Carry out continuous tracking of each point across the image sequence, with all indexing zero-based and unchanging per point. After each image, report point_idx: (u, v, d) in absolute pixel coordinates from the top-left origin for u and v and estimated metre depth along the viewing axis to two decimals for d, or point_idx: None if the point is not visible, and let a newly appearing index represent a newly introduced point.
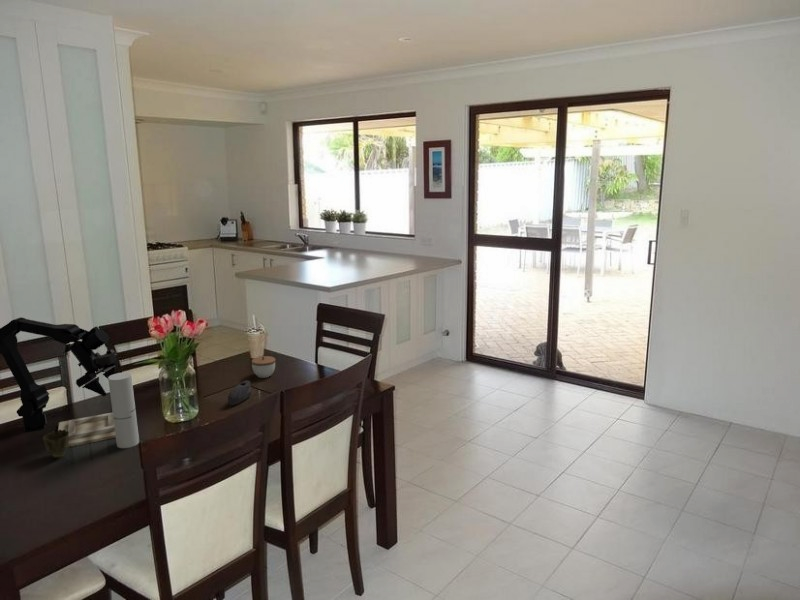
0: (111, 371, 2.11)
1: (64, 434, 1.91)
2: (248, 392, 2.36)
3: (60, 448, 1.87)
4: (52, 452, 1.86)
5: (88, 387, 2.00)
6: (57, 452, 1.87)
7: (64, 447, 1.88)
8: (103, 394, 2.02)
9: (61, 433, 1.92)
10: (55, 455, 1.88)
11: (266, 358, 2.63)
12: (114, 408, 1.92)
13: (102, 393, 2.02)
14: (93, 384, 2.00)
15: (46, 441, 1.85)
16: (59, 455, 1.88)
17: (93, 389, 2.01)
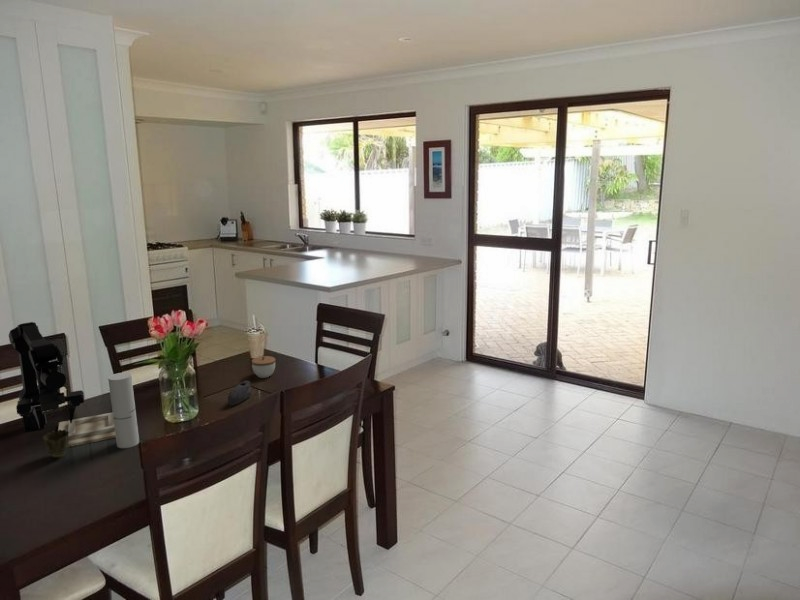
0: None
1: (64, 434, 1.91)
2: (248, 392, 2.36)
3: (60, 448, 1.87)
4: (52, 452, 1.86)
5: None
6: (57, 452, 1.87)
7: (64, 447, 1.88)
8: None
9: (61, 433, 1.92)
10: (55, 455, 1.88)
11: (266, 358, 2.63)
12: (114, 408, 1.92)
13: None
14: None
15: (46, 441, 1.85)
16: (59, 455, 1.88)
17: None
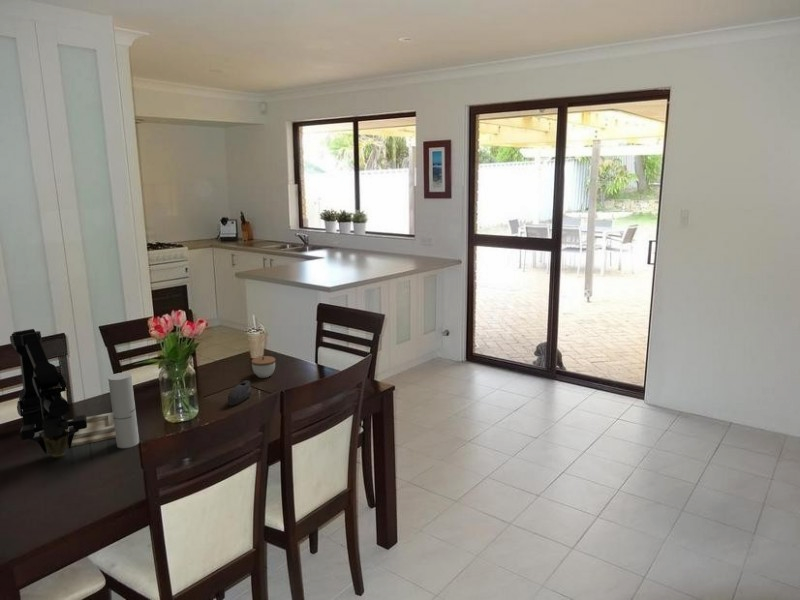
0: None
1: (64, 434, 1.91)
2: (248, 392, 2.36)
3: (60, 448, 1.87)
4: (52, 452, 1.86)
5: None
6: (57, 452, 1.87)
7: (64, 447, 1.88)
8: None
9: None
10: (55, 455, 1.88)
11: (266, 358, 2.63)
12: (114, 408, 1.92)
13: None
14: None
15: (46, 441, 1.85)
16: (59, 455, 1.88)
17: None
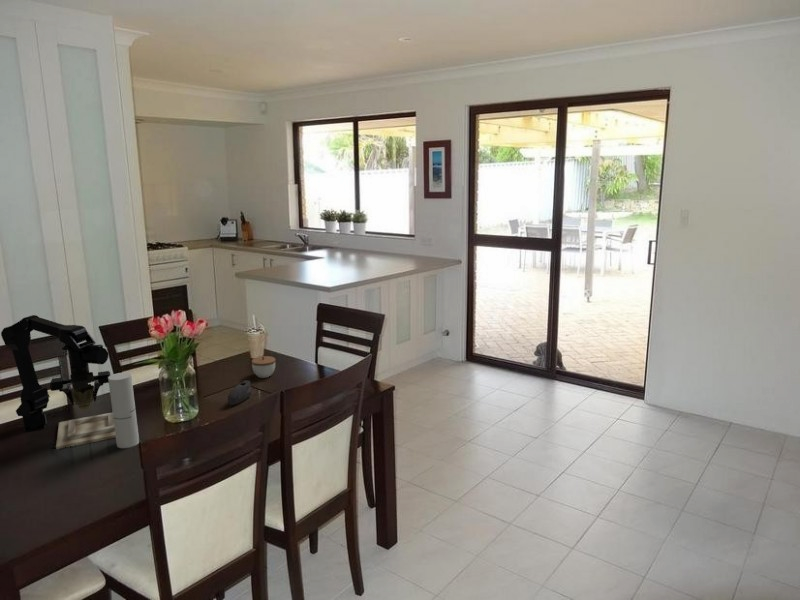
0: (94, 386, 2.04)
1: (89, 388, 2.06)
2: (248, 392, 2.36)
3: (86, 400, 2.01)
4: (79, 403, 2.01)
5: None
6: (83, 404, 2.01)
7: (90, 399, 2.02)
8: None
9: (87, 387, 2.06)
10: (81, 407, 2.02)
11: (266, 358, 2.63)
12: (114, 408, 1.92)
13: (71, 401, 2.02)
14: None
15: (73, 393, 1.99)
16: (85, 407, 2.03)
17: None
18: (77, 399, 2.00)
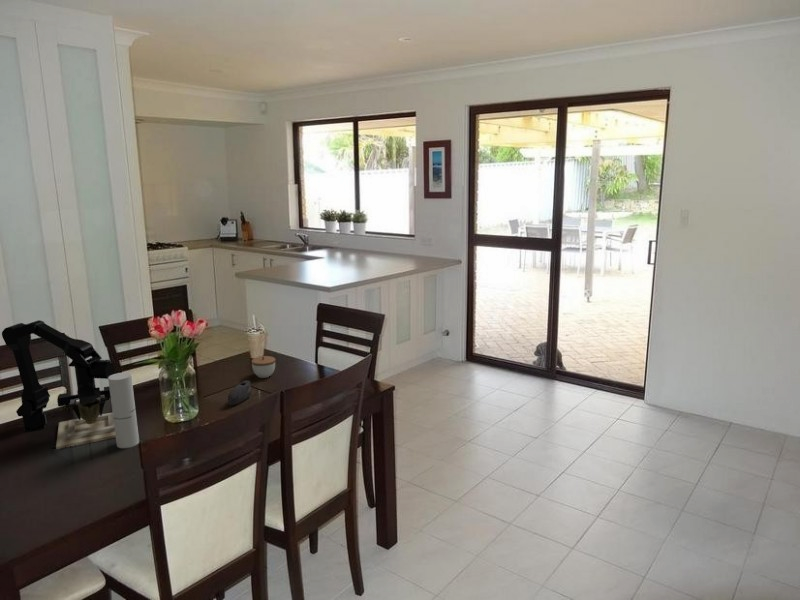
0: (100, 400, 2.08)
1: (95, 402, 2.10)
2: (248, 392, 2.36)
3: (93, 415, 2.05)
4: (85, 418, 2.05)
5: None
6: (90, 418, 2.05)
7: (96, 414, 2.06)
8: (78, 417, 2.06)
9: (93, 402, 2.10)
10: (88, 421, 2.06)
11: (266, 358, 2.63)
12: (114, 408, 1.92)
13: (77, 416, 2.06)
14: None
15: (80, 408, 2.03)
16: (91, 421, 2.07)
17: None
18: (84, 414, 2.04)
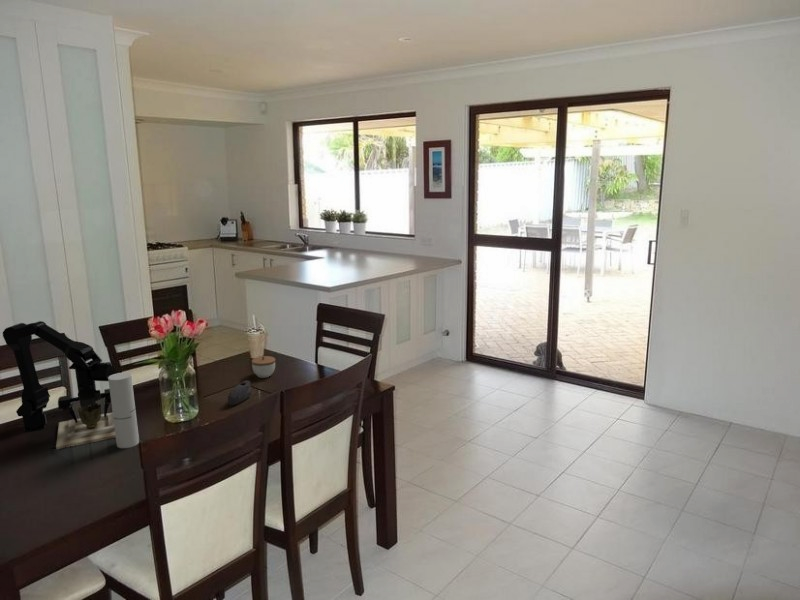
0: (104, 402, 2.08)
1: (96, 407, 2.11)
2: (248, 392, 2.36)
3: (93, 419, 2.06)
4: (86, 423, 2.05)
5: None
6: (91, 423, 2.06)
7: (97, 418, 2.07)
8: (75, 420, 2.06)
9: (94, 407, 2.11)
10: (89, 426, 2.07)
11: (266, 358, 2.63)
12: (114, 408, 1.92)
13: (74, 419, 2.05)
14: None
15: (81, 413, 2.04)
16: (92, 426, 2.07)
17: None
18: (85, 418, 2.04)
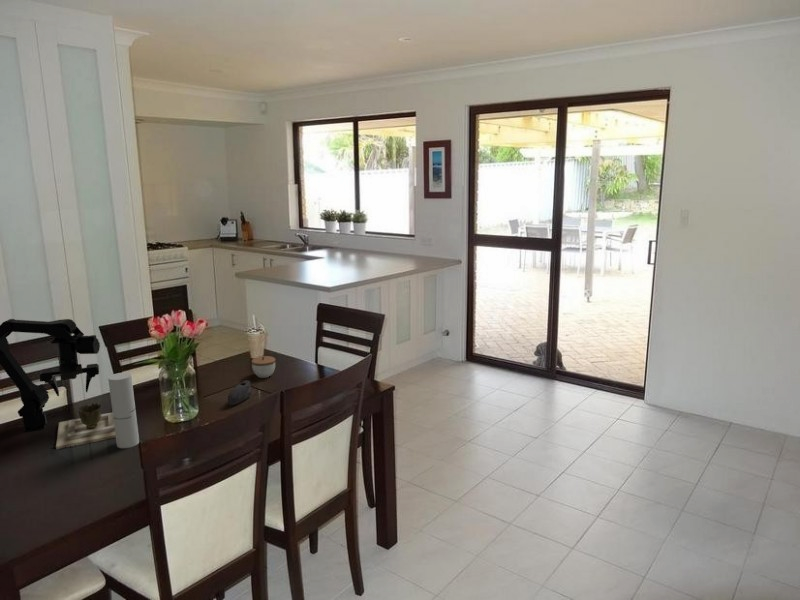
0: (86, 377, 2.11)
1: (96, 407, 2.10)
2: (248, 392, 2.36)
3: (93, 419, 2.06)
4: (86, 423, 2.05)
5: None
6: (91, 423, 2.06)
7: (97, 419, 2.07)
8: None
9: (94, 407, 2.11)
10: (89, 426, 2.07)
11: (266, 358, 2.63)
12: (114, 408, 1.92)
13: None
14: None
15: (81, 413, 2.04)
16: (92, 426, 2.07)
17: None
18: (85, 419, 2.04)
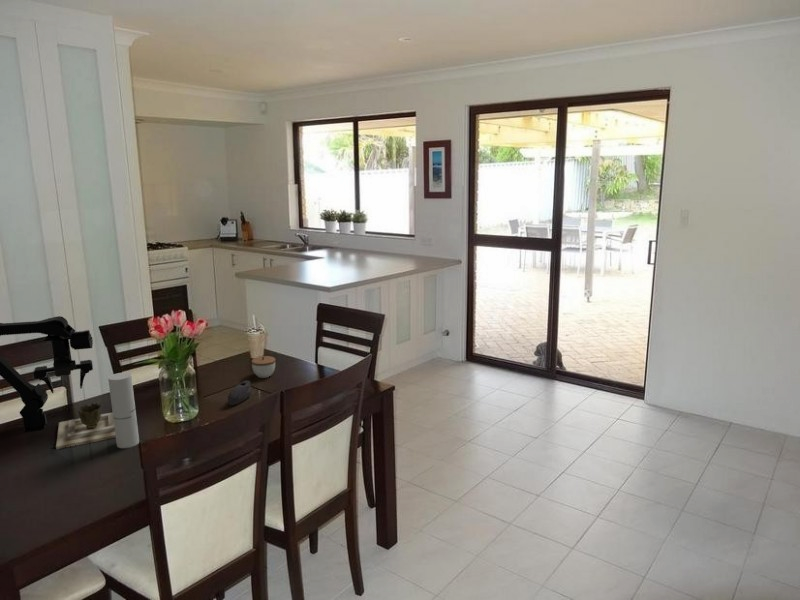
0: (80, 373, 2.13)
1: (96, 407, 2.10)
2: (248, 392, 2.36)
3: (93, 420, 2.06)
4: (86, 423, 2.05)
5: None
6: (90, 423, 2.06)
7: (97, 419, 2.07)
8: None
9: (94, 407, 2.10)
10: (89, 426, 2.07)
11: (266, 358, 2.63)
12: (114, 408, 1.92)
13: None
14: None
15: (81, 413, 2.04)
16: (92, 426, 2.07)
17: None
18: (85, 419, 2.04)
